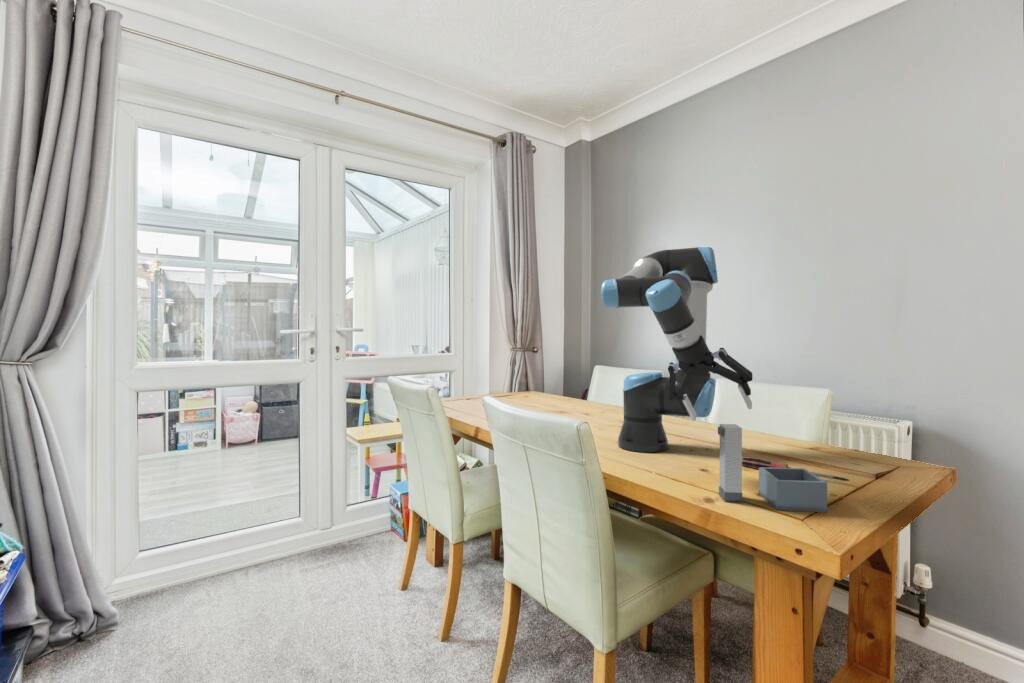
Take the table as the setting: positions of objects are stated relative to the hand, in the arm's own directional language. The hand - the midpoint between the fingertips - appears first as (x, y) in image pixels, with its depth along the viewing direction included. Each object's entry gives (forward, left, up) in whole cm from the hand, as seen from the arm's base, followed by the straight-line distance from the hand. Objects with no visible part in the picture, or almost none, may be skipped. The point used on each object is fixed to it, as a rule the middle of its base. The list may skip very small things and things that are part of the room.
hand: (721, 412), depth 118 cm
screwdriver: (-4, +18, -17) cm, 25 cm away
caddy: (+16, +9, -16) cm, 25 cm away
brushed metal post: (+15, -3, -16) cm, 22 cm away
